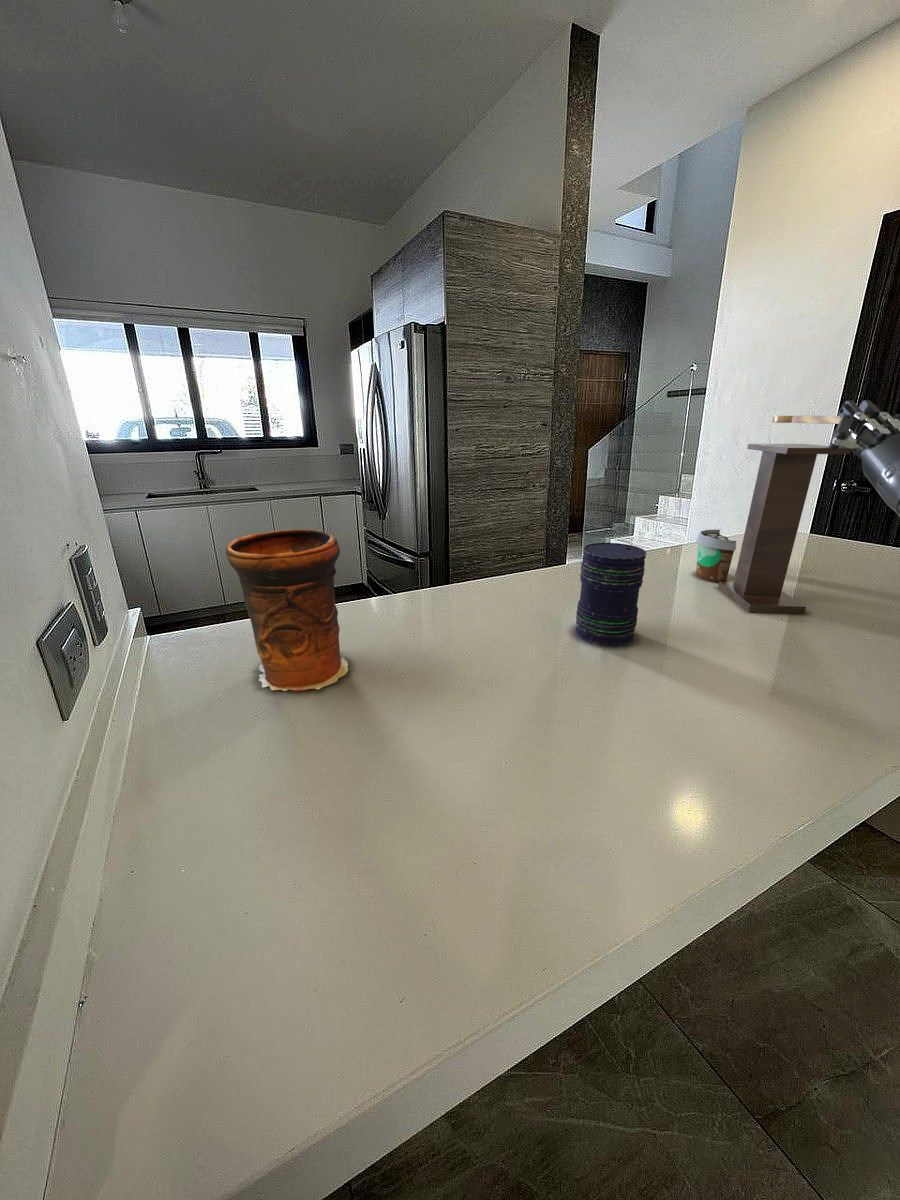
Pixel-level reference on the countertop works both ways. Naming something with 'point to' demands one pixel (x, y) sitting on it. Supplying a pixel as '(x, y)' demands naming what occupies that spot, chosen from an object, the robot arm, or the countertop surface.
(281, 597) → the vessel
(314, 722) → the countertop surface
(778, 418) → the wooden spoon
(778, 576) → the brown pedestal stand
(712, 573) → the food container
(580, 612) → the storage jar
